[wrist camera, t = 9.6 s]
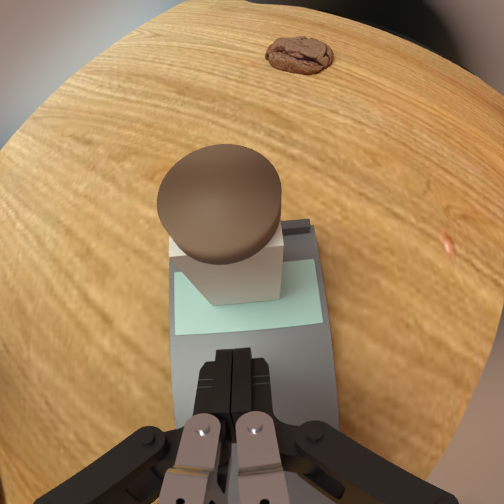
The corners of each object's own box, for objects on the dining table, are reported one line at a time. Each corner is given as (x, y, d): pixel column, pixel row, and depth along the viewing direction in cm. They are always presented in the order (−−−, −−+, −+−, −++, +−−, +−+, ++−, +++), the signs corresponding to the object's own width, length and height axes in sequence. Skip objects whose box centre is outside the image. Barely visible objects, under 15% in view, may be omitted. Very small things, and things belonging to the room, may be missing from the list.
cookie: (346, 63, 38) (348, 48, 36) (298, 84, 36) (299, 67, 34) (300, 39, 42) (301, 25, 39) (252, 58, 40) (251, 43, 37)
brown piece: (281, 307, 22) (289, 242, 11) (210, 313, 22) (153, 256, 11) (274, 241, 24) (273, 138, 13) (208, 248, 24) (161, 153, 13)
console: (336, 516, 18) (345, 536, 14) (199, 524, 18) (188, 544, 14) (309, 239, 27) (315, 218, 23) (179, 253, 28) (165, 233, 24)
